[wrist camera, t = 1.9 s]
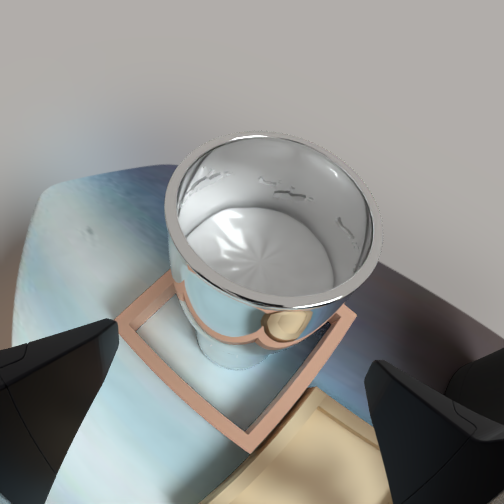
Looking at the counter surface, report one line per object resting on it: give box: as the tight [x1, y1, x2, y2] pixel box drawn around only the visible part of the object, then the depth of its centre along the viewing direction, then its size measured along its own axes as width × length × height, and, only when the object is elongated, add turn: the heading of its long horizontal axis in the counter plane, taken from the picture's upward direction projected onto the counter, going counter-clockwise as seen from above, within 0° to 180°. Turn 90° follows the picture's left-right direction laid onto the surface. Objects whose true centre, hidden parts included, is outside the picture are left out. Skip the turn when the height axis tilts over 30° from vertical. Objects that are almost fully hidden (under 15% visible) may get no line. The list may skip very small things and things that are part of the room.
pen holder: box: [445, 348, 504, 425], centre depth 14 cm, size 9×9×10 cm
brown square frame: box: [114, 269, 357, 454], centre depth 20 cm, size 13×13×2 cm
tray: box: [198, 387, 393, 504], centre depth 13 cm, size 14×14×2 cm
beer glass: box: [164, 131, 383, 370], centre depth 14 cm, size 7×7×15 cm
